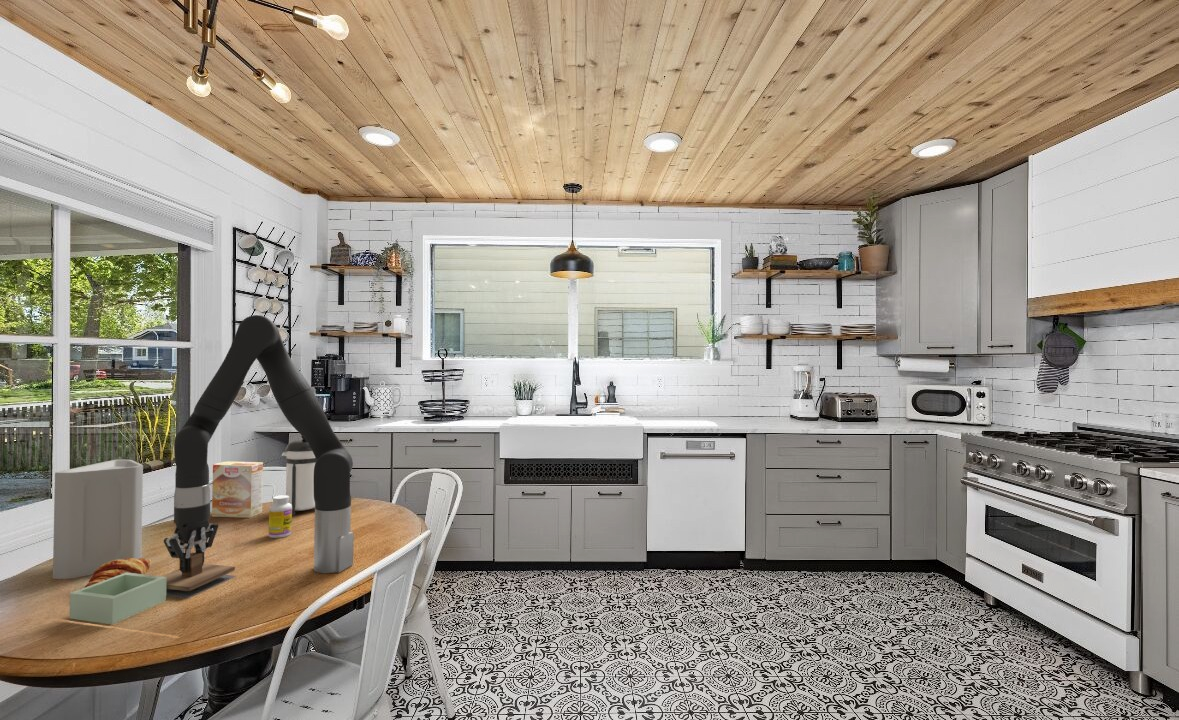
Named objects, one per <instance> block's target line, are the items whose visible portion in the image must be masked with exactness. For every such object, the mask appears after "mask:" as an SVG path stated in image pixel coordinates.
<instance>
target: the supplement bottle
mask: <svg viewBox="0 0 1179 720" xmlns="http://www.w3.org/2000/svg"><path fill="white" fill-rule="evenodd" d="M288 501H289V496H287V495H286V494H283V495H281V494H280V495H276V496H273V497H272V502H273V504H271V505H270V506H269V509H268V536H269V538H273V539H280V538H286V537H288V536H290V535H291V534H292V528H293V526H292V523H293V521H292V520H293V516H292V505H291V504H290V503H288Z"/></svg>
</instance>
